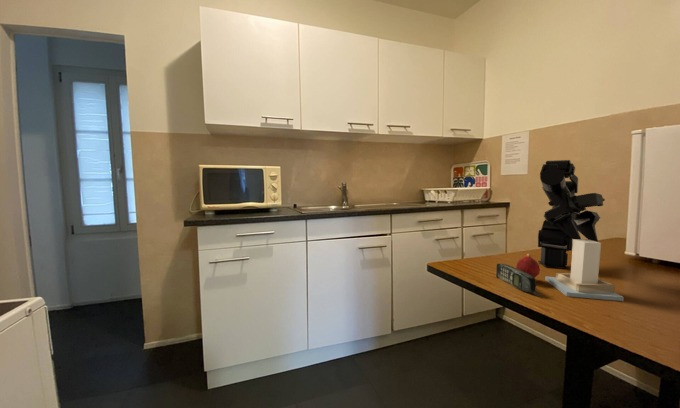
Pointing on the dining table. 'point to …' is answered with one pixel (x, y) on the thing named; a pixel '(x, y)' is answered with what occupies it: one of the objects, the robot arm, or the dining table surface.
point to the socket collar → (579, 287)
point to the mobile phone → (517, 278)
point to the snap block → (585, 261)
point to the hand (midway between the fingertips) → (587, 242)
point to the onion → (528, 266)
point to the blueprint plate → (574, 293)
